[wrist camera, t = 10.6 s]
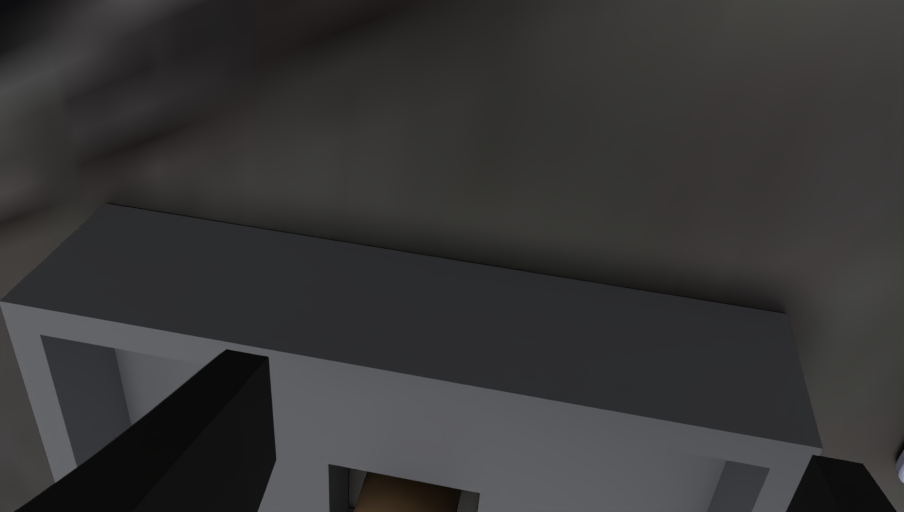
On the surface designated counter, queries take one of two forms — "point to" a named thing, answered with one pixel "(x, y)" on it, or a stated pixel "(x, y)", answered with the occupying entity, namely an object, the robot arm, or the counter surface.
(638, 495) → the box
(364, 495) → the peg
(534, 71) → the counter surface
